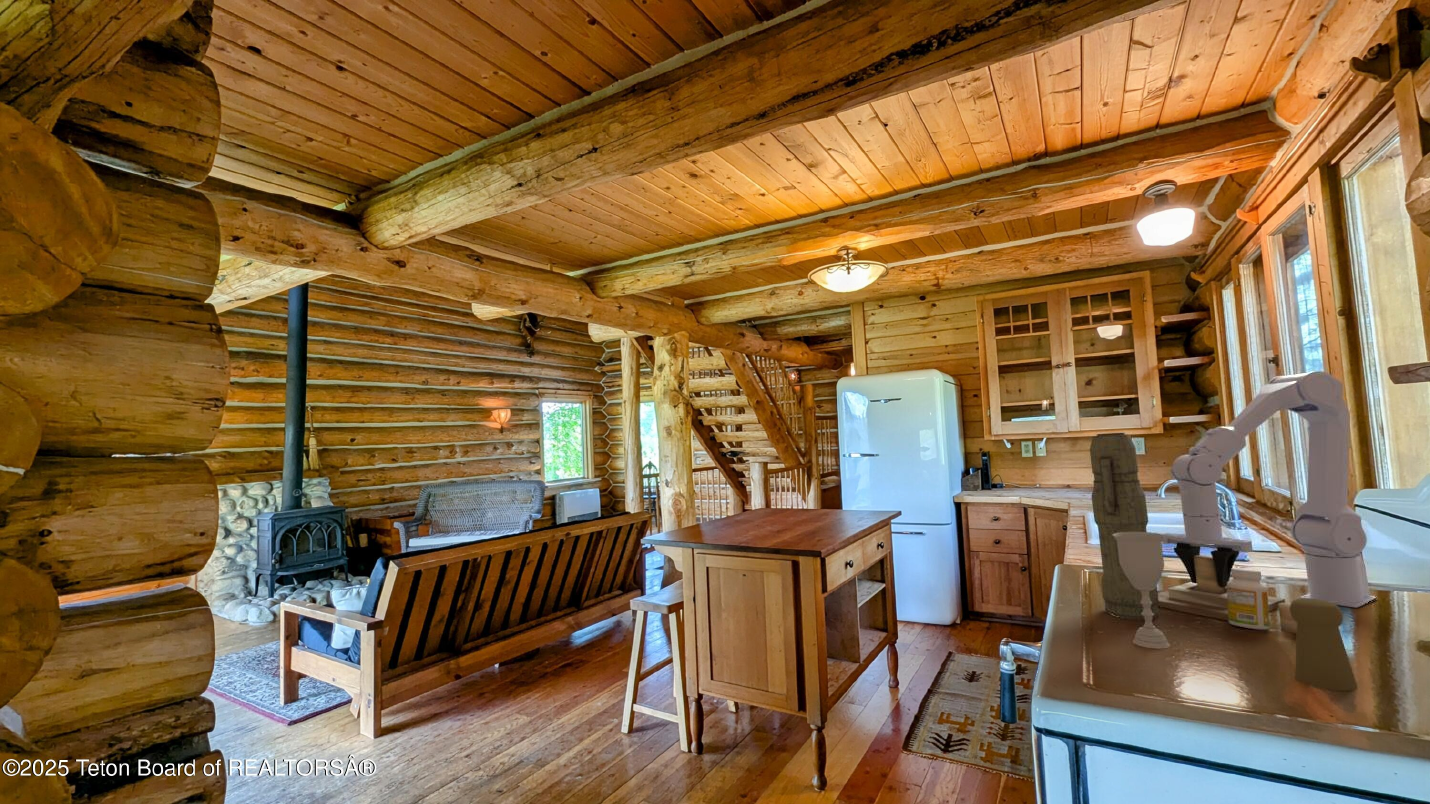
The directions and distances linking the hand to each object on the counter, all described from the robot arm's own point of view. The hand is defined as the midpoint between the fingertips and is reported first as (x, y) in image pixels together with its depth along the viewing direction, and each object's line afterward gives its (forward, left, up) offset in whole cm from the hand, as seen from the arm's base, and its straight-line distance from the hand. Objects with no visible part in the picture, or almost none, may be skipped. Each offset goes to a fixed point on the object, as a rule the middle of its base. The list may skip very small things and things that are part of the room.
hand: (1210, 584), depth 118 cm
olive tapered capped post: (+28, +26, -4) cm, 38 cm away
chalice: (+30, +5, -4) cm, 31 cm away
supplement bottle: (+10, +10, -4) cm, 14 cm away
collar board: (0, 0, -4) cm, 4 cm away
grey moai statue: (+16, -6, -4) cm, 18 cm away
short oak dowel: (+6, +15, -4) cm, 17 cm away
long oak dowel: (0, 0, -3) cm, 3 cm away
